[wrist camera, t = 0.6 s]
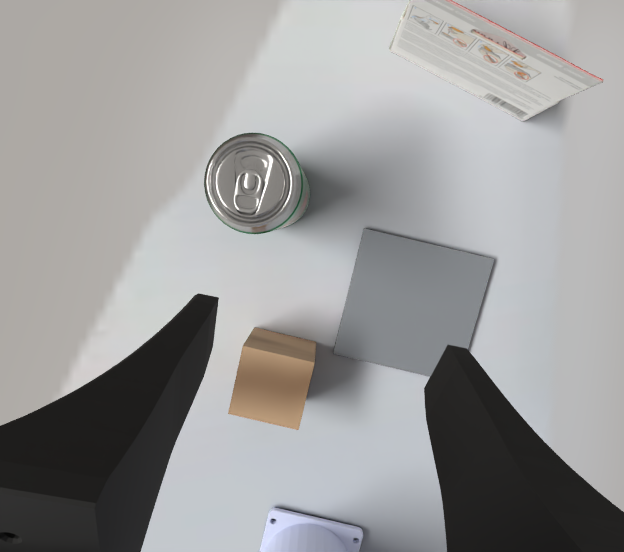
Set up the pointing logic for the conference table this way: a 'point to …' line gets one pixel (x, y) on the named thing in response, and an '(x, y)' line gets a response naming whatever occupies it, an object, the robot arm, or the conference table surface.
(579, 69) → the ink cartridge box
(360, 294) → the pad
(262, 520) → the conference table surface
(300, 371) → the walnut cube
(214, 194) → the soda can
